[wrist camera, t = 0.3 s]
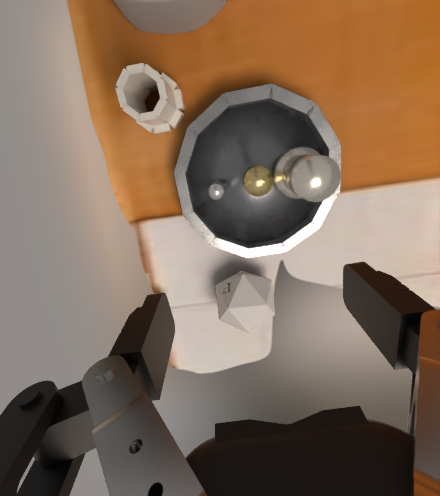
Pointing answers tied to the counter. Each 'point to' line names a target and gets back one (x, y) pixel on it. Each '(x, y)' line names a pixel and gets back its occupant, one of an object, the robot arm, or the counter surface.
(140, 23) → the paw print stamp
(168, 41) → the counter surface
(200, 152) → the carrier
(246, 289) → the die
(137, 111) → the flanged octagonal tube
